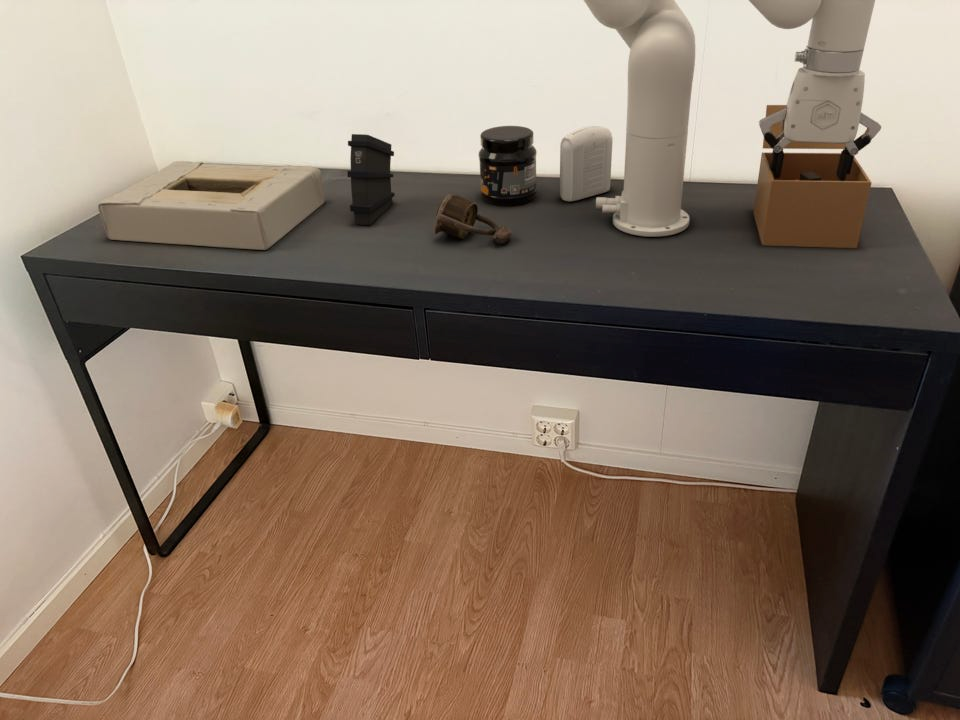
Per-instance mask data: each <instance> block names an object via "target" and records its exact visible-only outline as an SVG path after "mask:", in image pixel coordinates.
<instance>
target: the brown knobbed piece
mask: <svg viewBox="0 0 960 720" xmlns="http://www.w3.org/2000/svg"><path fill="white" fill-rule="evenodd" d="M478 210H479V207H478V204H477V203H476V202H474V201H472V200H469V199H467V198H465V197H463V196H460V195H457V194H455V193H450V194H448V195H447V196H445V198H443V199H442V201H441V203H440V204H439V207H438V209H437V211H436V220H435V225H434V229H433V232H432V233H433V234H434V235H437V234H439V233H442V232H444V233H446V234H449V235H450V236H453V237H456V238H458V239H461V240H463V239H465V238H466V237H467V236H469V234H470V233H473V234H477V235H482V236H491V237H492V239H493V241H494V242H495V243H496V244H499V245H501V244H505V243H506V242H508V241H509V240H510V239H511V237H512V231H511V229H510V228H509V227H508V226H506V225H502V226H500V227H499V225H498V224H497V223H496V222H494V221H493V220H491V219H490V218H488V217H486V216H484V215H481V214H479V213H478V212H479V211H478ZM476 221H478V222H481V223H483V224H485V225H488V226H489V227H490V228H491V229H490V228H489V229H488V228H480V227H476V226H474V225H475V223H476Z"/></svg>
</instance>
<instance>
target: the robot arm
mask: <svg viewBox="0 0 960 720" xmlns="http://www.w3.org/2000/svg"><path fill="white" fill-rule="evenodd" d="M748 1H749V3H750V4H751V5H752V6H753V7H754V8H755V9H756V10H757V11H758V12H759V13H760V15H762V17H764V18H765V20H766V21H768V22H769V23H770V24H771V25H773V26H775V27H776V28H779V29H781V30H792V29H797V28H800V27H802V26H804V25H806V24H808V23H809V22H810V21H811V25H810V30H809V35H808V39H807V45H806V46H805V48H804V49H803V50H801V51H795V53H794V59H793V60H794V62H795V63H797V62H798V63H801V64H802V65H803V66H802V67H799V68H798V70H797V72H796V74H795V76H794V79H793V81H792V85H791V88H790V91H789V95H788V98H787V101H786V104H785V105H786V108H785V109H783V110H781V111H779V112H776V113H774V114H772V115H770V116H768V117H766V116H765V117H763V118H761V119H760V120H759V121H758V126H759V128H760V131H761V134H762V136H763V139H765V141H766V142H767V143H768V144H769V145H770V147H771V148H772V149H771V150H772V152H771V153H772V158H771V164H770V170H771V171H773V174H774V177H775V178H779V177H780V175H781V170H782V165H783V159H784V153H785V152H784V150H785V149H784V148H785V147H786V146H787V145H788V144H789V143H790V142H797V143H821V144H844V145H845V149H842V150H841V151H840V153H841V155H840V160H839V164H838V168H837V173H836V175H837V176H838V178H839V180H841V181H845V178H846V174H850V172H851V168H852V163H853V159H854V157H855V156H856V155H858V154H859V152H860V151H861V150H863V149H864V148H866V146H868V145H869V144H871V142H872V140H873V139H874V138H875V137H876V136H877V135H878V134H879V132H880V131H881V129H882V125H881V124H880V123H879V122H877V121H876V120H874V119H873V118H871V117H870V116H868V115H867V114H865V113H863V112H862V107H863V100H864V94H865V93H864V92H865V75H866V74H865V72H864V71H862V70H860V68H861V64H862V61H863V60H862V59H863V55H864V51H865V46H866V42H867V38H868V33H869V29H870V24H871V20H872V17H873V12H874V7H875V3H876V0H748ZM583 2H584V3H585V4H586V6H587V7H588V9H589V11H590V12H591V14H592V15H593V17H594V18H595V19H596V20H597V21H598V22H599V23H600V24H601V25H603V26H604V27H607V28H609V29H613V30H616V32H617V33H618V35H619V36H620V37H621V39H622V40H623V41H624V43H625V44H626V45H627V47H628V48H629V54H628V60H627V103H626V104H627V105H626V123H625V125H626V126H625V152H624V155H625V156H624V171H623V173H624V174H623V190H622V191H621V195H615V197H601V196H597V197H596V199H595V209H598V210H599V209H600V210H601V213H602V214H610V213H612V225H613V226H614V227H615V228H616V229H618V230H619V231H620V232H623V233H626V234H629V235H632V236H638V237H646V238H660V237H668V236H672V235H677V234H680V233H681V232H683V231H685V230H686V229H687V228H688V227H689V225H690V215H689V214H688V212H686V211H685V210H683V209H682V199H683V189H684V180H685V179H684V178H685V169H686V168H685V167H686V159H687V158H686V157H687V146H688V134H689V122H690V109H691V101H692V100H691V99H692V91H693V82H694V74H695V68H696V67H695V66H696V35H695V31H694V28H693V26H692V24H691V22H690V20H689V19H688V17H687V15H685V13H684V12H683V10H682V9H681V8H680V6H679V5H678V3H677V2H676V0H583ZM781 121H783V123H782V130H783V132H782V133H781V134H780V135H779V136H778V137H777V138H776V137H775V136H774V135H773V134H772V133H771V130H770V127H771V126H772V125H774V124H776V123H778V122H781ZM860 125H862V126H863V127H865V128H866V130H865V131H864V132H863V133H862V134H861V135H860V136H858V137H857V135H858V131H859V127H860ZM856 137H857V138H856ZM853 140H854V141H853Z"/></svg>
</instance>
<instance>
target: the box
mask: <svg viewBox="0 0 960 720" xmlns="http://www.w3.org/2000/svg"><path fill="white" fill-rule="evenodd" d="M325 200H326V194H325V185H324V180H323V175H322V171H321V169H320V168H319V167H316V166H311V165H310V166H309V165H303V166H302V165H300V166H299V165H298V166H295V165H290V164H287V165H284V166H271V165H270V166H269V165H248V164H247V165H245V164H224V163H204V162H203V161H188V160H177V161H173V162H171V163H170V164H168V165H167V166H165V167H163V168H162V169H160V170H158V171H156V172H154V173H153V174H151V175H149V176H147V177H145V178H143V179H142V180H140V181H138V182H136V183H134V184H132V185H131V186H128V187H127V188H125V189H122V190H121V191H119V192H117V193H116V194H114V195H111V196H110V197H107V198H105V199H103V200H101V201H99V203H98V206H97V209H98V213H99V216H100V219H101V222H102V225H103V227H104V231H105V233H106V236H107V238H108V239H109V240H111V241H112V240H113V241H123V242H125V241H126V242H138V243H139V242H141V243H154V244H155V243H156V244H169V245H184V246H199V247H209V248H210V247H212V248H225V249H226V248H227V249H242V250H256V251H257V250H258V251H267V250H268V249H269V248H271V247H272V246H273V245H274V244H276V243H277V242H278V241H280V240H281V239H282V238H283V237H285V236H286V235H287V234H288V233H289V232H290V231H292V230H293V229H294V228H295V227H297V226H298V225H300V223H301V222H303V221H304V220H305V219H307V217H309V216H311V214H312V213H314V212H315V211H317V210H318V209H319V208H320V207H321V206H322V205H324V204H325Z"/></svg>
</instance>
